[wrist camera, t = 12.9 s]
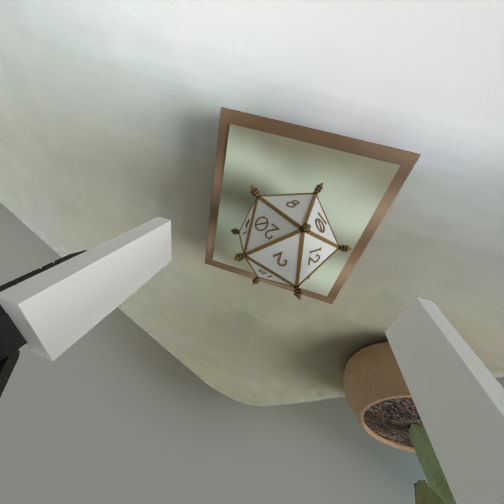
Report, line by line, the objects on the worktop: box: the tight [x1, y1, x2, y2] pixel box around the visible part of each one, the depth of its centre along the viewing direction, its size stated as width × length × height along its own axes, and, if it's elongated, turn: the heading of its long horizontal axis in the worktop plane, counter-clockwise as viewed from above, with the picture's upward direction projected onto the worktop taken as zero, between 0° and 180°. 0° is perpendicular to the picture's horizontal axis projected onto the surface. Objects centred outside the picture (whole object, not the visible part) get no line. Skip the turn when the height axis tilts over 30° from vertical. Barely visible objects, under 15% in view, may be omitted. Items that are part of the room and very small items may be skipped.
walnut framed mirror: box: [205, 107, 421, 304], centre depth 21 cm, size 16×16×5 cm
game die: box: [231, 183, 353, 299], centre depth 16 cm, size 9×8×10 cm
